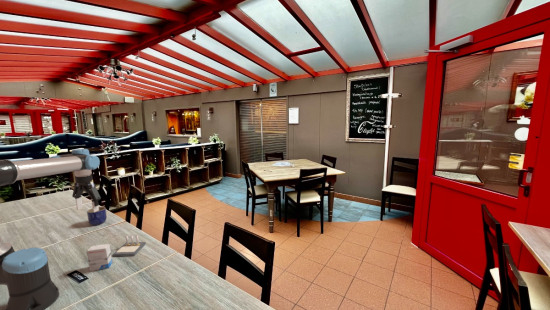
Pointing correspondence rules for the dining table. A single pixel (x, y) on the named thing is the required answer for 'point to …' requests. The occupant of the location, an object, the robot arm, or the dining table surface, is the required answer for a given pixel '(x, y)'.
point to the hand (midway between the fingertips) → (87, 210)
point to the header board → (130, 247)
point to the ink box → (99, 257)
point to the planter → (97, 216)
